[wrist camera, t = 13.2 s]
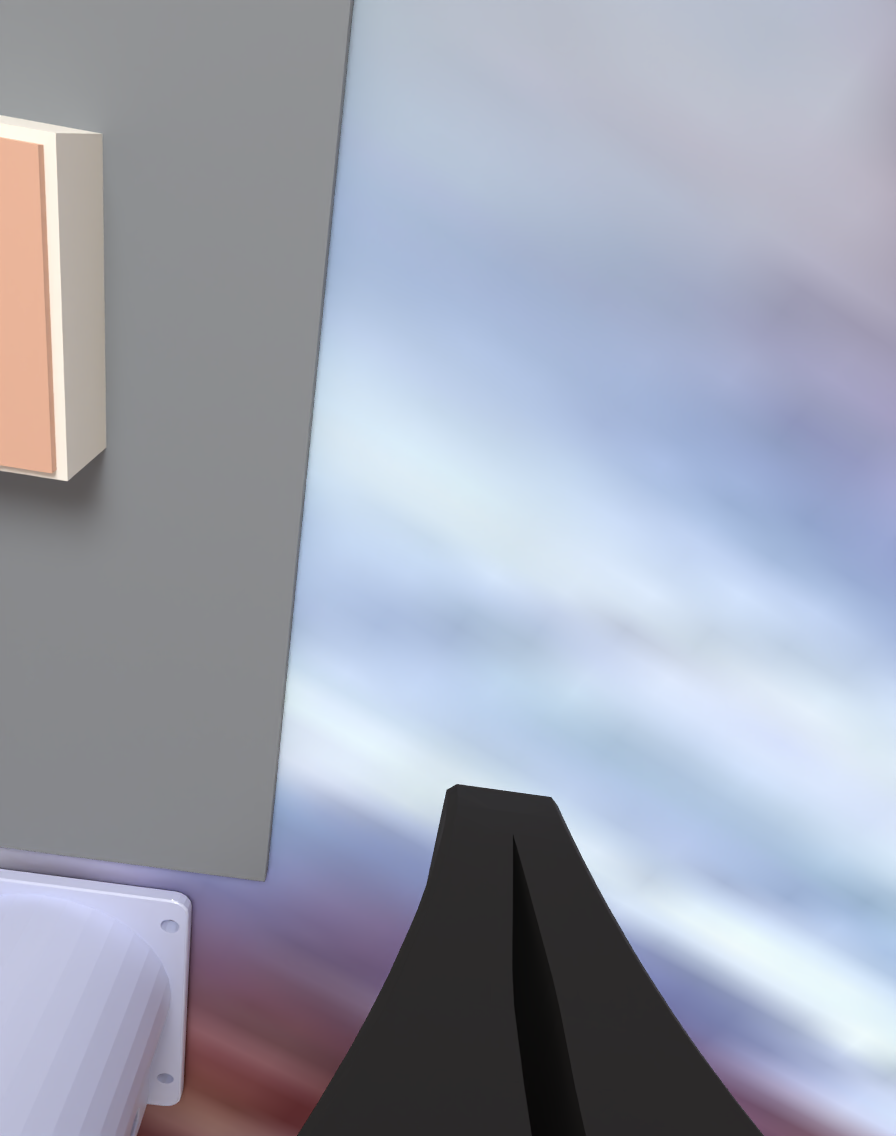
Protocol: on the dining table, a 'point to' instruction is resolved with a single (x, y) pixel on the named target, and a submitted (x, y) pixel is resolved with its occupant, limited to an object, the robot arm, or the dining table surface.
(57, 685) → the mat
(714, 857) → the dining table surface
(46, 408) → the tile
